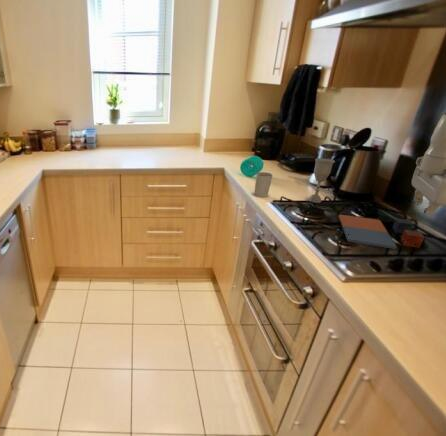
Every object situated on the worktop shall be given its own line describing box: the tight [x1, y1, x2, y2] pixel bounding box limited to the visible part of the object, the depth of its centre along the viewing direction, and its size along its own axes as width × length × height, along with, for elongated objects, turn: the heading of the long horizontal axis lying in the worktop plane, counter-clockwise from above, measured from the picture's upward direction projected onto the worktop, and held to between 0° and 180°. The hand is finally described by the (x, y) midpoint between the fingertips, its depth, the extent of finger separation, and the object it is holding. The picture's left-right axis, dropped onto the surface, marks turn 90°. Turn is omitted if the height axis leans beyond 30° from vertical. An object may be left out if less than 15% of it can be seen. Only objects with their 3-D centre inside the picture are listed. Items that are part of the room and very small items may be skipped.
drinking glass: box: [253, 171, 273, 198], centre depth 145 cm, size 7×7×10 cm
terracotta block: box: [400, 230, 425, 249], centre depth 102 cm, size 4×4×4 cm
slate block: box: [391, 217, 414, 235], centre depth 111 cm, size 4×4×4 cm
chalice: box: [308, 157, 336, 204], centre depth 136 cm, size 7×7×18 cm
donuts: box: [239, 155, 264, 178], centre depth 174 cm, size 10×10×10 cm
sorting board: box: [338, 214, 398, 250], centre depth 112 cm, size 13×22×1 cm, turn 154°
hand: (422, 209), depth 98 cm, fingers open, 8 cm apart
